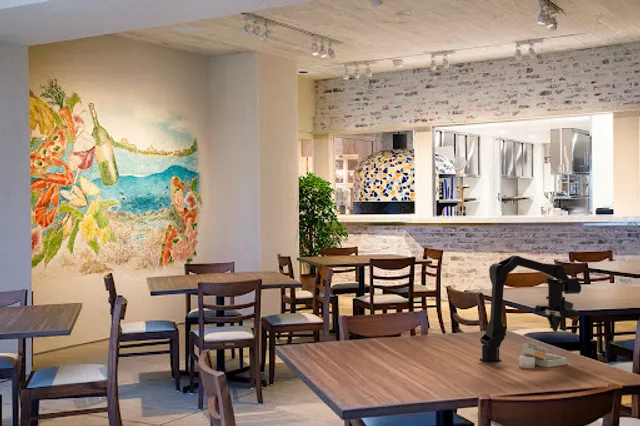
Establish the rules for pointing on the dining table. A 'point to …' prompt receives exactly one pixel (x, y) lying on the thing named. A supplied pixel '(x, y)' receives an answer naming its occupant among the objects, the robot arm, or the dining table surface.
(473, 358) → the dining table surface
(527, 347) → the supplement box
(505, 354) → the dining table surface
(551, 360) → the squared c-shaped bracket
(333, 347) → the dining table surface
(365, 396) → the dining table surface
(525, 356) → the white rounded block
